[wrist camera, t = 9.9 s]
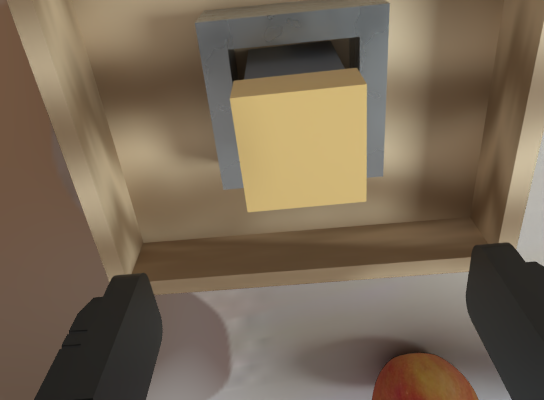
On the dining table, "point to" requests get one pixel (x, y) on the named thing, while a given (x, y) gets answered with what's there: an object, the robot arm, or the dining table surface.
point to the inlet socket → (285, 30)
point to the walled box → (231, 203)
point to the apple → (421, 380)
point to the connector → (300, 128)
